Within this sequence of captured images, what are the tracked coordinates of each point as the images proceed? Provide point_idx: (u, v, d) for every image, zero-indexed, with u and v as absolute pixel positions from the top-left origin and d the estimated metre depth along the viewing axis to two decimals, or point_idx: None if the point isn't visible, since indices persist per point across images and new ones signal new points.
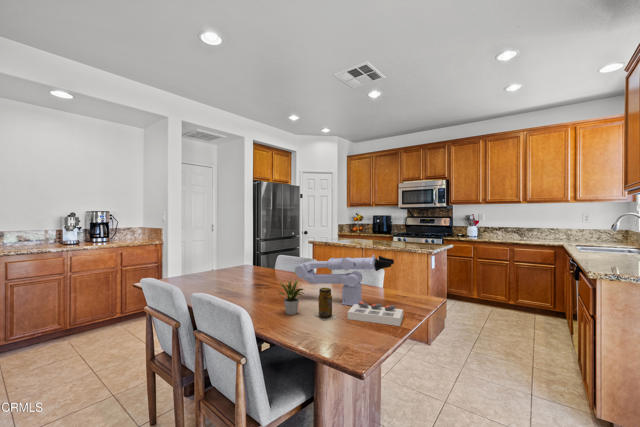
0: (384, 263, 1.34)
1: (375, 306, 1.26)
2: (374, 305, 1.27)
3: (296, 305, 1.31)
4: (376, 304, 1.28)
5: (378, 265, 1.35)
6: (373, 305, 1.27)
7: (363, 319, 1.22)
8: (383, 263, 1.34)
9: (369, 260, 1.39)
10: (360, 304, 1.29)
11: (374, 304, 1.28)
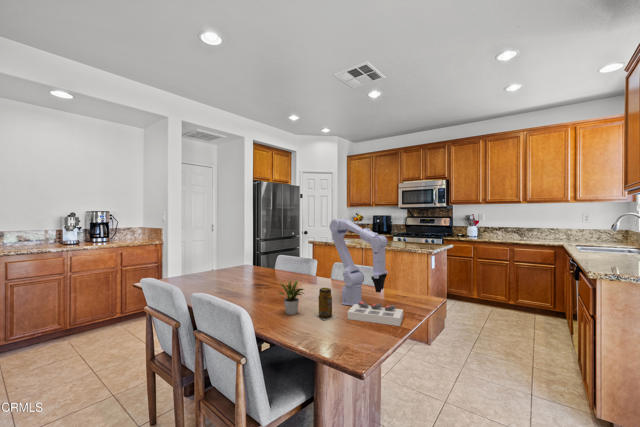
0: (379, 286, 1.30)
1: (375, 306, 1.26)
2: (374, 305, 1.27)
3: (296, 305, 1.31)
4: (376, 304, 1.28)
5: (377, 279, 1.31)
6: (373, 305, 1.27)
7: (363, 319, 1.22)
8: (379, 285, 1.30)
9: (382, 269, 1.31)
10: (360, 304, 1.29)
11: (374, 304, 1.28)
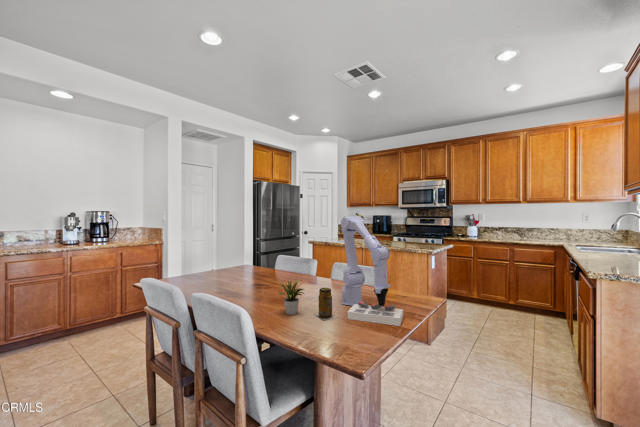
0: (382, 299, 1.25)
1: (375, 306, 1.26)
2: (374, 305, 1.27)
3: (296, 305, 1.31)
4: (376, 304, 1.28)
5: (380, 292, 1.26)
6: (373, 305, 1.27)
7: (363, 319, 1.22)
8: (382, 298, 1.25)
9: (384, 283, 1.24)
10: (360, 304, 1.29)
11: (374, 304, 1.28)
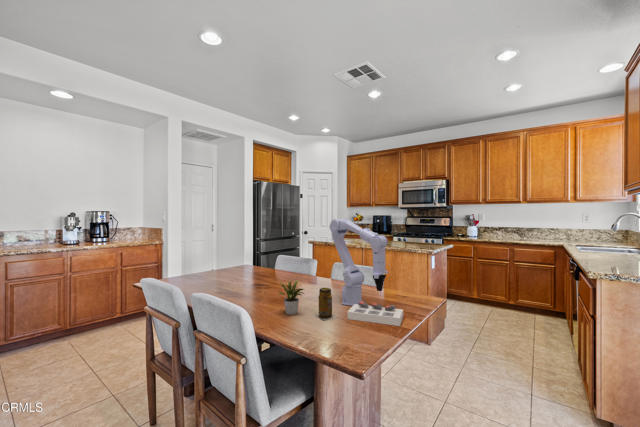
0: (380, 284, 1.33)
1: (376, 306, 1.26)
2: (375, 305, 1.26)
3: (296, 305, 1.31)
4: (377, 304, 1.28)
5: (378, 278, 1.33)
6: (374, 304, 1.27)
7: (363, 319, 1.22)
8: (380, 283, 1.33)
9: (382, 269, 1.31)
10: (360, 304, 1.29)
11: (375, 303, 1.28)
